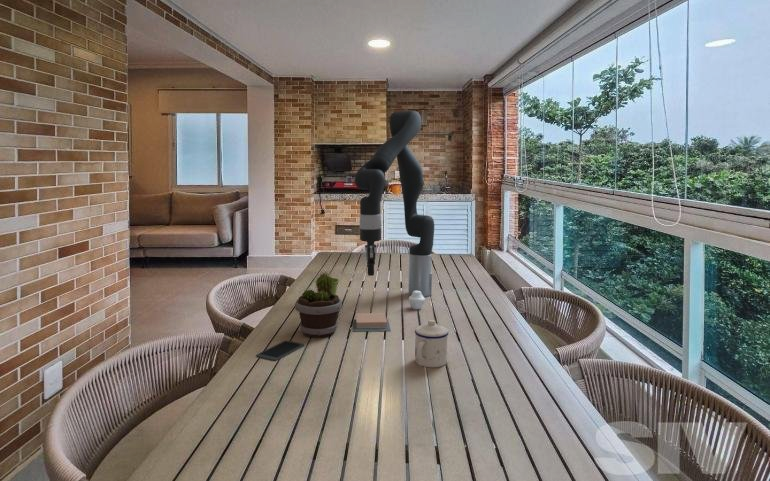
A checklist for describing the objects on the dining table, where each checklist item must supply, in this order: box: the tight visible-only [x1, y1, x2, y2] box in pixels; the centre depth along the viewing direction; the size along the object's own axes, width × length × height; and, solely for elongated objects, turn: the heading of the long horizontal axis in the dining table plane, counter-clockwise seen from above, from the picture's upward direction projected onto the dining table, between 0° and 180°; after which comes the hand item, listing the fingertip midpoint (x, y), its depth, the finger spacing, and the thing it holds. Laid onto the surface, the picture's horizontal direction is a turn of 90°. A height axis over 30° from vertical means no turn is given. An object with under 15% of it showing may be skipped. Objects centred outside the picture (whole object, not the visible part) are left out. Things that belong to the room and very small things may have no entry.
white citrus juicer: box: [408, 291, 426, 310], centre depth 183 cm, size 6×6×7 cm
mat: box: [352, 318, 392, 333], centre depth 163 cm, size 12×12×1 cm
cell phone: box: [255, 340, 305, 362], centre depth 140 cm, size 7×14×1 cm, turn 154°
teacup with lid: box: [414, 319, 449, 368], centre depth 131 cm, size 12×9×12 cm
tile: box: [355, 312, 387, 328], centre depth 164 cm, size 10×2×10 cm
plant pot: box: [314, 277, 340, 295], centre depth 190 cm, size 9×9×9 cm
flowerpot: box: [294, 271, 343, 338], centre depth 154 cm, size 14×15×20 cm
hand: (370, 275), depth 173 cm, fingers closed
